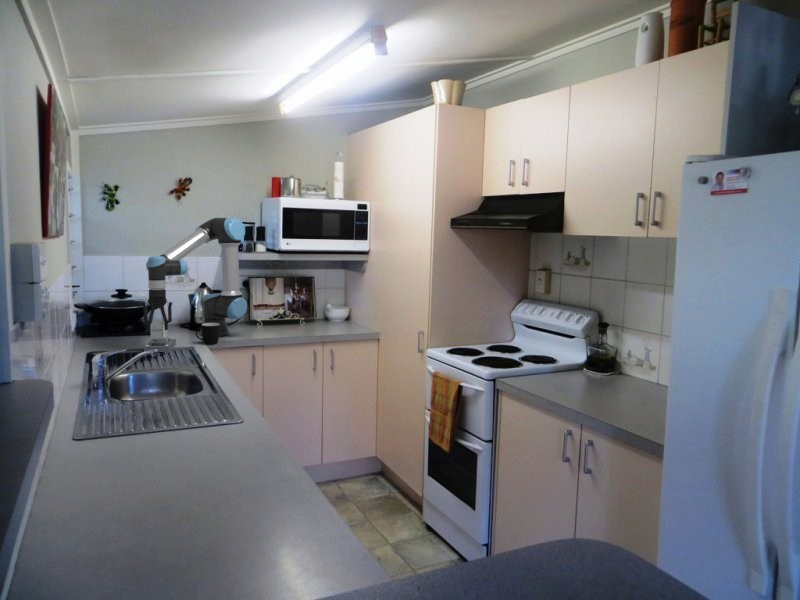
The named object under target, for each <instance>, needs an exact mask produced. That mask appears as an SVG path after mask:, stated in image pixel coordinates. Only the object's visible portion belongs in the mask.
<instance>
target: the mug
mask: <svg viewBox="0 0 800 600" xmlns="http://www.w3.org/2000/svg"><path fill="white" fill-rule="evenodd" d="M199 330H200V331H201V330H202V335H201V336H202V337H199V336H198V332H199ZM219 332H220V324H218V323H204V324H203V323H202V324H201V326H200V327H198V328H197V329H196V331H195V337H196V338H197V339H199V340H201V341H202V342H203V344H204V345H207V346H208V345H209V346H211V345H213V346H214V345H217V344H218V343H219V338H220V336H219Z"/></svg>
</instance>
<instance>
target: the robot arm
mask: <svg viewBox="0 0 800 600" xmlns="http://www.w3.org/2000/svg"><path fill="white" fill-rule="evenodd" d="M245 235H246V228H245V225H244V223H243V222H242V221H241V220H240V219H238V218H237V217H235V218H233V217H214V218H213V217H212V218H210V219H208V220H207V221H205V222H204V223H202V224H200V225H199V226H198V227H197V226H196V228H195V231H193V233H191V234H189V235H188V236H186V237H185V238H183V239H182V240H180V241H179V242H178V243H176V244H175V245H173V246H172V247H170V248H169V249H167V250H166V251H165V252H163V253H162V254H160V255H159V256H158V255H155V256H153V255H152V256H149V257H148V260H147V261H146V264H145V267H146V270H147V271H148V272H147V273H148V276H147V277H148V300H146V301H143V302H142V303H141V304H142V307H143V322H144V324H145V323H146V324H147V331H150V338H152V322H153V318H154V313H155V310H156V309H160V313H161V316H162V319H163V320H164V324H163V338H165V337H166V330H168V328H169V327H168V325H169V324H170V323H171V322H172V320H173V317H172V309H173V308H172V306H173V303H174V302H173V301H169V300H168V299H167V297H166V296H167V293H166V292H167V291H166V288H167V286H166V284H167V283H166V277H167V276H169V277H170V276H183V275H185V274H187V273H188V270H189V269H188V268H189V266H188V262H187V261H185V259H184V258H185V257H187V255H190V254H191V253H192V252H194V251H195V250H196V249H198V248H199V247H201V246H202V245H204V244H208V243H209V242H212V241H214V240H217V241H218V244H219V246H220V247H221V269H222V270H221V271H222V273H221V274H222V291H221V292H219V293H218V292H217V293H210V294H209V293H206V294H204V295H203V298H202V299H203V300H202V301H203V302H202V303H203V304H202V306H203V322H202V324H204V323H218V324H220V332H219V337H225V336H228V335H230V330H229V327H228V324H227V321H226V319H231V320H239V319H241V318H243V317H244V315H245V314H246V313H247V311H248V302H247V301H246V299H244V297H243V292H241V290H240V271H239V270H240V269H239V267H240V266H239V265H240V264H239V246H240V245H241V244H242V240H243V238H244V237H245ZM148 305H150V308H151V309H150V312H149V316H148ZM165 305H166V306H167V314H166V311H165ZM200 335H201V336H202V330H201V329H200Z"/></svg>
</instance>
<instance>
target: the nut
mask: <svg viewBox="0 0 800 600" xmlns="http://www.w3.org/2000/svg"><path fill="white" fill-rule="evenodd" d="M163 324H164V320H162V319H161V320H152V339H160V338H163ZM152 339H151V340H152Z"/></svg>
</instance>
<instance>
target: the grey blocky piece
mask: <svg viewBox="0 0 800 600" xmlns="http://www.w3.org/2000/svg"><path fill="white" fill-rule="evenodd" d="M176 341H177V340H176V338H175V337H171V338H169V331H168V330H166V337H165V338H160V339H151V340H150V341H148V343H146V344H145V345H144V347H143V351H144V350H149V349H158V350H160V352H166V353H165V354H167V353H168V354H170V352H171V351H172V350H173V348H174V347H176V345H177V344H176V343H177V342H176ZM171 349H172V350H171ZM170 350H171V351H170Z"/></svg>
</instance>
